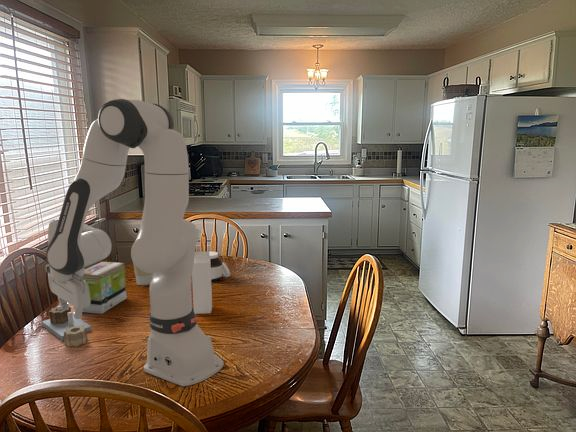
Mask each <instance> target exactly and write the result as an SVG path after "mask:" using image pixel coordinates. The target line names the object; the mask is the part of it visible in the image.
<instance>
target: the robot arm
mask: <svg viewBox="0 0 576 432" xmlns="http://www.w3.org/2000/svg"><path fill="white" fill-rule="evenodd" d="M90 124H91V125H90V127H89V129H88V132H87V135H86V137H85V142H84V145H83V151H82V157H81V161H80V166H79V168H78V171H77V173H76V175H75V177H74V179H73V180H72V182H71V183H70V185H69V186H68V188H67V191H66V193H65V197H64V199H63V203H62V207H61V211H60V213H59V217H57V218H54V219H52V220H51V221H50V222H49V224H48V228H47V242H48V243H47V245H48V246H47V249H46V252H45V254H46V261H47V264H46V265H45V271H46V273H47V277H48V278H47V279H48V284H49V288H50V291H51V292H52V294H54V295H56V296H57V300H58V302H59V304H60V305H59V306H61V309H63V310H65V309H68V308H69V304H70V305H71V306H73V308H74V312H73V315H74V318H76V319H83V312H82V311H83V308H86V307H89V306H90V303H91V301H90V293H89V287H88V284H87V282H86V281H85V280H83V278H82V277H81V276H83V275H84V274H85V271H84V270H85V269H86V267H87V268H88V267H90V266H93V265H95V264H97V263H98V262H102V261H103V260H104V259H106V258H108V257H109V256H110V255H111V253H112V249H113V242H112V239H111V237H110V235H109V234H108V233H107V232H106V231H105V230H103V229H101V228H95V227H93V226H91V225H88V224H86V223H85V222H86V219H87V216H88V213H89V211H90V210H91V208H92V206H94V205H95V204H96V203H98V201H99V200H101V199H102V198H104V197H105V196H107V195H108V194H110V193H112V192H113V191H115V190H116V189H118V188H119V187H120V185H121V183H122V181H123V179H124V176H125V173H126V168H127V161H128V155H129V150H130V149H136V148H137V147H138V148H139V149H140V150H141V151H142V154H143V157H144V158H143V160H144V204H143V205H144V206H143V210H142V211H143V212H142V215H141V216H142V217H141V220H140V221H141V222H140V226H139V228H138V233H137V236H136V239H135V241H133V244H132V246H131V249H130V257H131V260H132V263H133V262H134V264H135V265H136V267H137V268H138V269H140V270H141V271H143V272H146V273H154V275H153V278H152V280H151V283H150V284H149V288H148V289H149V304H150V306H149V307H150V312H149V318H148V320H149V321H148V322H149V328H150V333H149V336H148V338H147V343H146V344H147V345H146V346H147V347H146V348H147V349H146V363H145V364H144V365H143V372H145V373H147V374H149V375H152V376H155V377H157V378H161V379H162V380H166V381H168V382H170V383H173V384H175V385H178V386H181V387H187V386H192V385H195V384H198V383H200V382H203V381H205V380H207V379H208V378H210V377H212V376H215V374H217V373H218V372H220V370H222V369H223V367H224V365H225V364H224V360H223V359H222V358H220V357H219V356H218V355H216V354H215V349H214V345H213V343H212V342H213V341H212V337H211V336H210V335H206V334H205V333H204V331H203V330H202V328H201V327H200V326H199V325H198V321H199V316H196V314H195V312H194V307H193V302H192V300H193V297H192V270H193V263H194V255H195V252H196V248H197V244H198V241H199V235H200V234H199V231H198V228H197V226H196V225H195V224H194V223H193V222H192V221H190V220H188V219H185V218H184V217H185V213H186V211H187V207H188V205H189V201H190V197H189V196H190V195H189V193H190V190H189V189H190V181H189V180H190V178H189V177H190V176H189V175H190V173H189V171H190V170H189V168H190V167H189V166H190V165H189V155H188V150H187V149H188V148H187V143H186V139H185V137H184V135H182V133H181V132H179V131H178V130H175V129H174V127H175V126H174V125H175V124H174V118H173V115H172V114H171V112H170V111H169V110H168V109H167V108H165V106H162V105H159V104H157V103H150V102H146V101H144V100H139V99H124V98H116V99H111V100H109V101H107V102H105V103H104V104H103V105H102V106H101V107H100V109H99V111H98V115H97V119H95V120H94V121H93V122H92V123H90ZM134 264H133V265H134Z"/></svg>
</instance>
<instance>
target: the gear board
mask: <svg viewBox="0 0 576 432" xmlns="http://www.w3.org/2000/svg"><path fill="white" fill-rule="evenodd" d="M56 307H57V309H58V311H61V310H62V309H61V306H60V305H57V306H56ZM67 314H68V321H67V322H65V323H63V324H54V323H51V322H50V318H49V319H45V320H42V321H41V324H42V327H44V328H45V329H46V330H47V331H49V332H50V333H52V334H53V335H55V336H56V337H57V338H58V339H60V340H61V341H65V340H64V331H66V329H67V328H71V327H73V326H76V325H77V326H81V325H84V327H86V329H87V333H88V332H91V331H92V325H90V324H88V323H87V322H85V321H84V320H82V318H80V319H76V318H74V313H73V312H72V311H71V312H68V313H67Z"/></svg>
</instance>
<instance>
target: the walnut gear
mask: <svg viewBox="0 0 576 432" xmlns="http://www.w3.org/2000/svg"><path fill="white" fill-rule="evenodd" d="M68 307H69V308H68V309H65V310H63V309H62V310H61V311H58V309H57V306H56V307H52V308H50V310H49V311H48V314H49V319H50V322H51V323H54V324H63V323H65V322H67V321H68V314H67V313H68V312H72V309H71V306H69V305H68Z"/></svg>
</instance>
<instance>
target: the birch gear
mask: <svg viewBox="0 0 576 432" xmlns="http://www.w3.org/2000/svg"><path fill="white" fill-rule="evenodd" d="M63 341H64V345H66V347H67V348H68V347H78V346H80V345H85V344H86V343H87V342H86V341H89V339H88V332H87V329H86V327H84V325H81V326H77V325H76V326H73V327H71V328H67V329H66V331H64V340H63Z"/></svg>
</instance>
